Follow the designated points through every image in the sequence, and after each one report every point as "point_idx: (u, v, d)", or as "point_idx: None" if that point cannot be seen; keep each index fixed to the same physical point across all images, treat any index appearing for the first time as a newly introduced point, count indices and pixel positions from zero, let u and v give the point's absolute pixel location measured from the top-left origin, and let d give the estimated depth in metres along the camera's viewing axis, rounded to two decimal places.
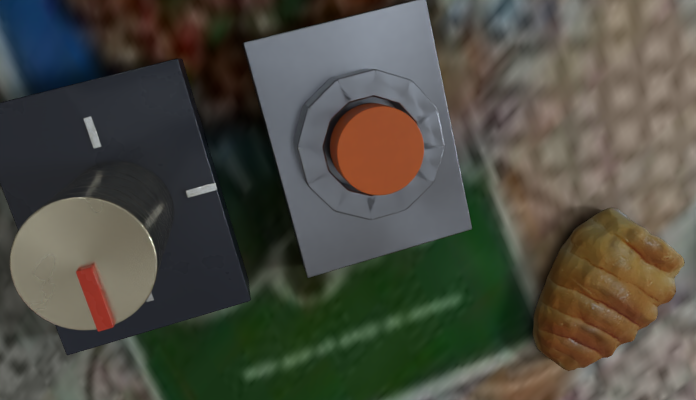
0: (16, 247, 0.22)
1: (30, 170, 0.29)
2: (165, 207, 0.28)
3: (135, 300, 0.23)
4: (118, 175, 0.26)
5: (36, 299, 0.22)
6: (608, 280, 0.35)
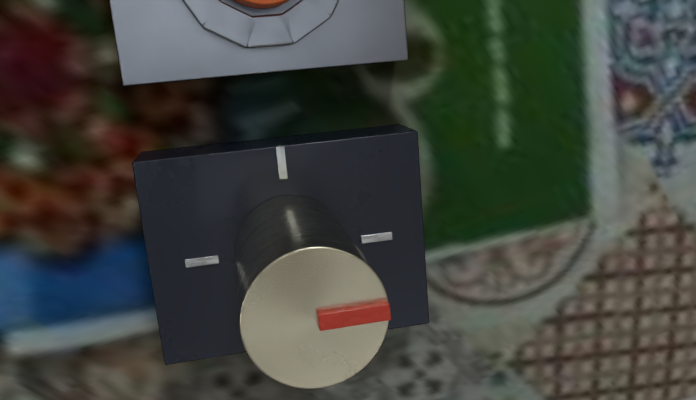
0: (283, 379, 0.21)
1: (232, 323, 0.29)
2: (287, 209, 0.25)
3: (366, 276, 0.21)
4: (241, 253, 0.24)
5: (343, 370, 0.21)
6: None
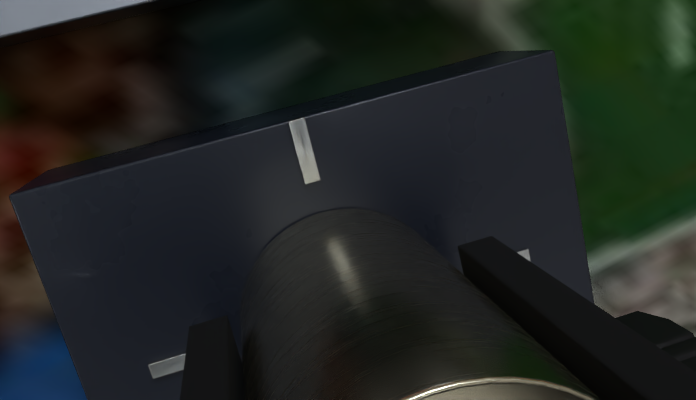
0: None
1: None
2: (332, 249, 0.12)
3: None
4: (248, 364, 0.11)
5: None
6: None
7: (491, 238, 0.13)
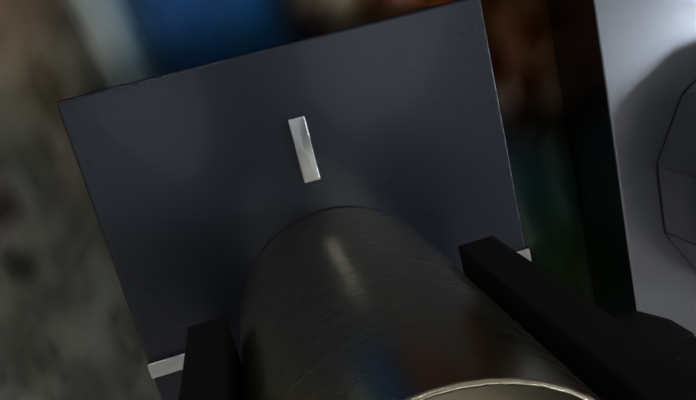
0: None
1: (175, 228, 0.14)
2: (331, 248, 0.12)
3: None
4: (247, 365, 0.11)
5: None
6: None
7: (491, 239, 0.13)
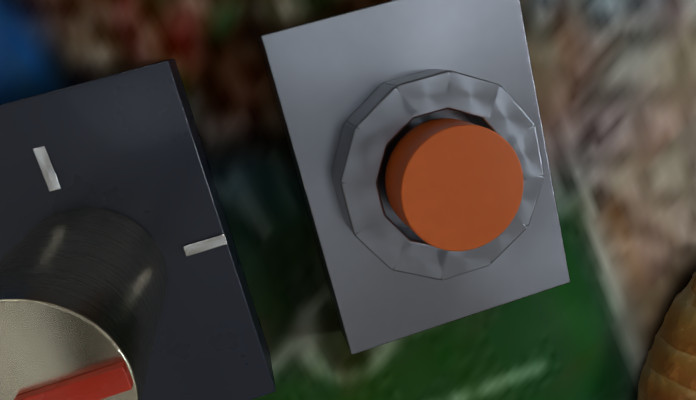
0: None
1: None
2: (35, 235, 0.18)
3: (79, 331, 0.13)
4: None
5: None
6: None
7: None
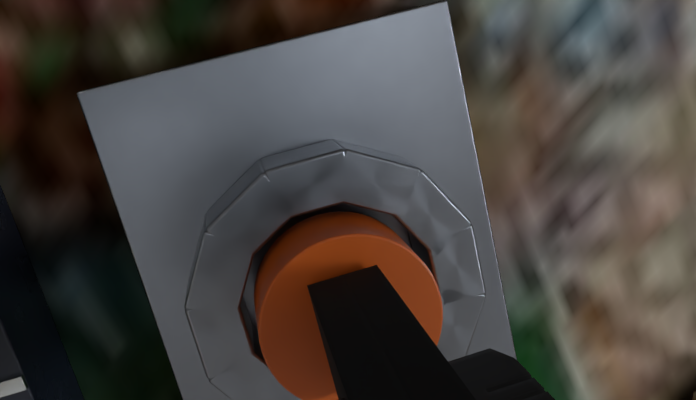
0: None
1: None
2: None
3: None
4: None
5: None
6: None
7: (376, 267, 0.13)
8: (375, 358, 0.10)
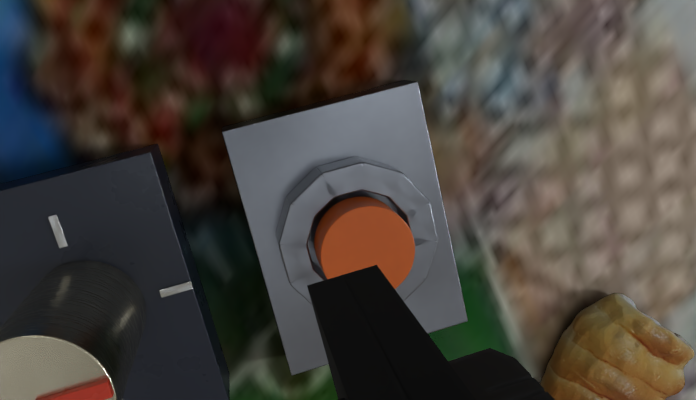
0: None
1: None
2: (48, 284, 0.25)
3: (78, 357, 0.20)
4: None
5: None
6: (612, 374, 0.33)
7: (376, 267, 0.13)
8: (375, 358, 0.10)
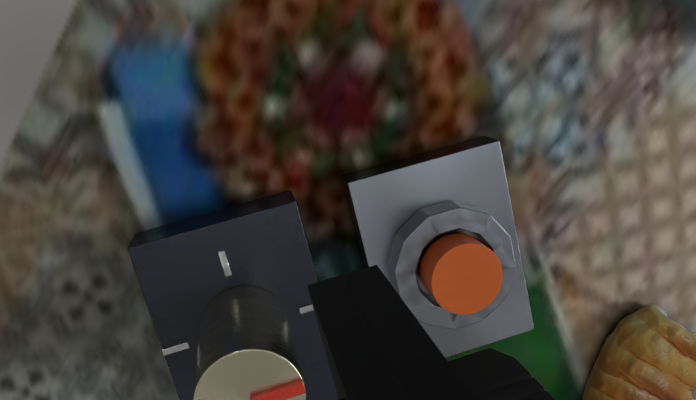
0: None
1: (173, 295, 0.35)
2: (229, 306, 0.32)
3: (281, 364, 0.28)
4: None
5: None
6: (650, 371, 0.41)
7: (376, 267, 0.13)
8: (375, 358, 0.10)
